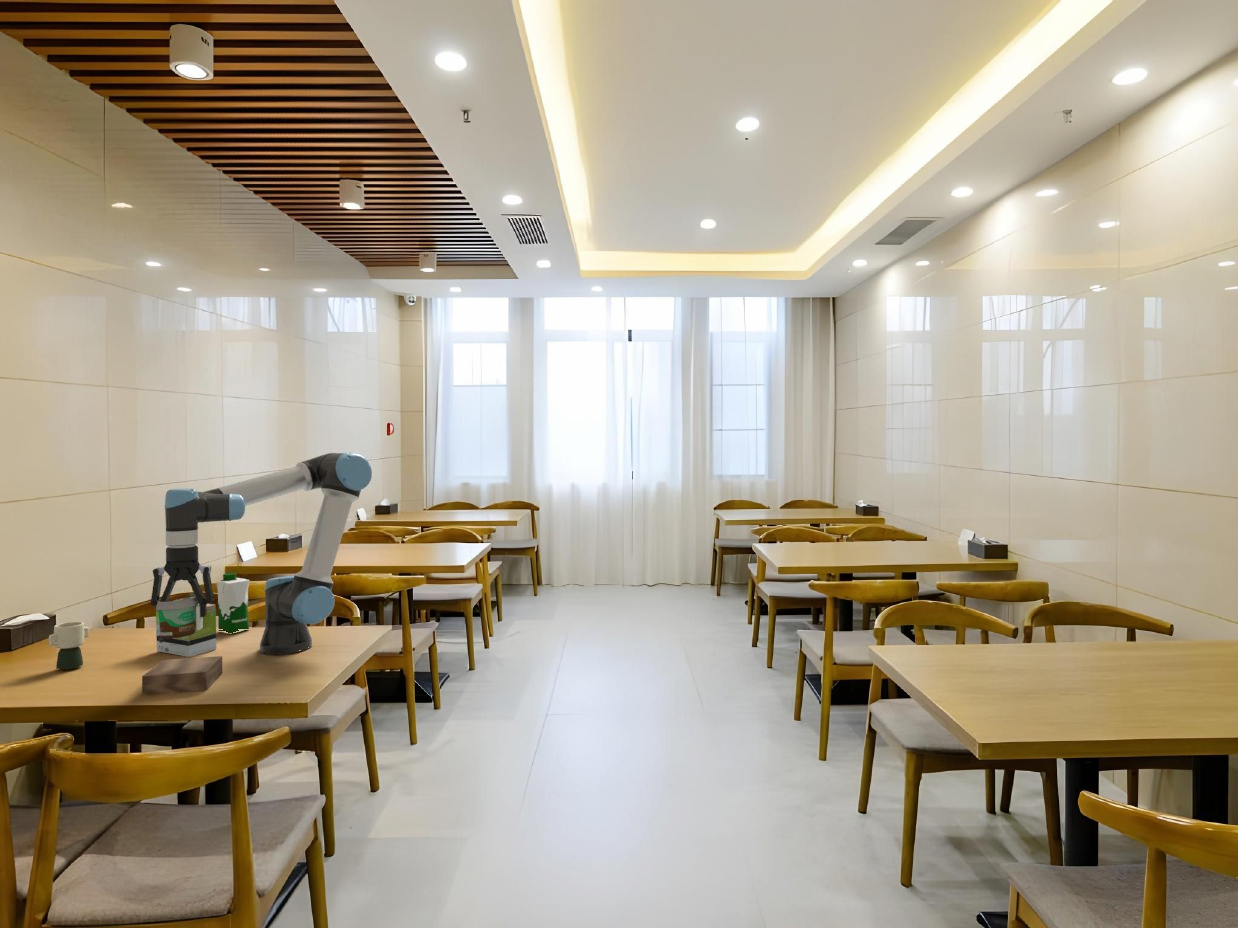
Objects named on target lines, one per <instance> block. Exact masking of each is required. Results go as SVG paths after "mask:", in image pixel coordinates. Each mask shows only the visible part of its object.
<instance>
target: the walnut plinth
mask: <svg viewBox="0 0 1238 928" xmlns="http://www.w3.org/2000/svg"><path fill="white" fill-rule="evenodd" d="M222 673H223V655H218V656H205V657H202V656H201V657H185V658H172V659H163V660H161V661H160V662H158V663H157V664H155V666H153V667H152V668H151V669H150V670H148V671H147V672H145V674H143V675H142V676H141V682H142V683H141V687H142V688H141V689H142V690H141V692H142V696H151V695H152V696H154V695H167V694H168V695H169V694H177V693H178V694H180V693H192V691H195V692H205V690H207V691H209V689H208V688H210V687H212V686H213V684H214V683H215V682H217V680H218V679H219V678H220V677H221V676H222ZM190 691H191V692H190Z"/></svg>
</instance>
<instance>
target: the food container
mask: <svg viewBox="0 0 1238 928" xmlns="http://www.w3.org/2000/svg"><path fill="white" fill-rule="evenodd" d="M198 604H199V602H198V600H197V598H196V596H195V594H194V592H193V593H191V592H190V593H189V596H186V597H183V598H175V599H172V600H169V601H167V602H157V606H155V611H156V610H158V614H159V624H160V634H161V638H164V639H165V638H178V637H184V636H188V635H192V634H194V633H195V630H196V606H197V605H198Z"/></svg>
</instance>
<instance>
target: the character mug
mask: <svg viewBox="0 0 1238 928" xmlns="http://www.w3.org/2000/svg"><path fill="white" fill-rule="evenodd" d="M89 630H90V628H89V627H88V625H87V626H85V622H83V621H70V622H61V623H58V624H55V625H54V626H53V633H52V634H49V635H48V645H49V647H53V646H54V647H55V648H56V649H59V650H58V653H57V660H56V667H55V668H56V670H59V669H60V670H63V669H64V670H63V671H66V670H69V669H72V670H73V669H77V668H81V667H83V665H84V660H83V659H84V658H83V653H82V649H81V647H80V646H83V645H85V639H87V638H89V634H90V632H89ZM65 669H66V670H65Z"/></svg>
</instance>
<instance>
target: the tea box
mask: <svg viewBox="0 0 1238 928" xmlns="http://www.w3.org/2000/svg"><path fill="white" fill-rule="evenodd" d="M198 605H199V604H198ZM198 605H197V606H198ZM216 605H217V604H214V603H213V604H212V603H208V604H207V605H206V611H207V614H206V616H205V617H203V628H202V629H200V630H197V622H196V630H195V633H194V634H192V635H188V636H184V637H178V638H165V639H164V638H161V634H160V624H159V614H158V610H156V609H155V619H156V620H155V626H156V627H155V628H156V632H155V633H156V652H159V653H160V652H161V653H166V654H172V655H176V656H181V657H185V658H193V657H194V656H197V655H198V656H199V655H202V654H205V653H209V652H211V651H214V650H216V649H217V607H216Z"/></svg>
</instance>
